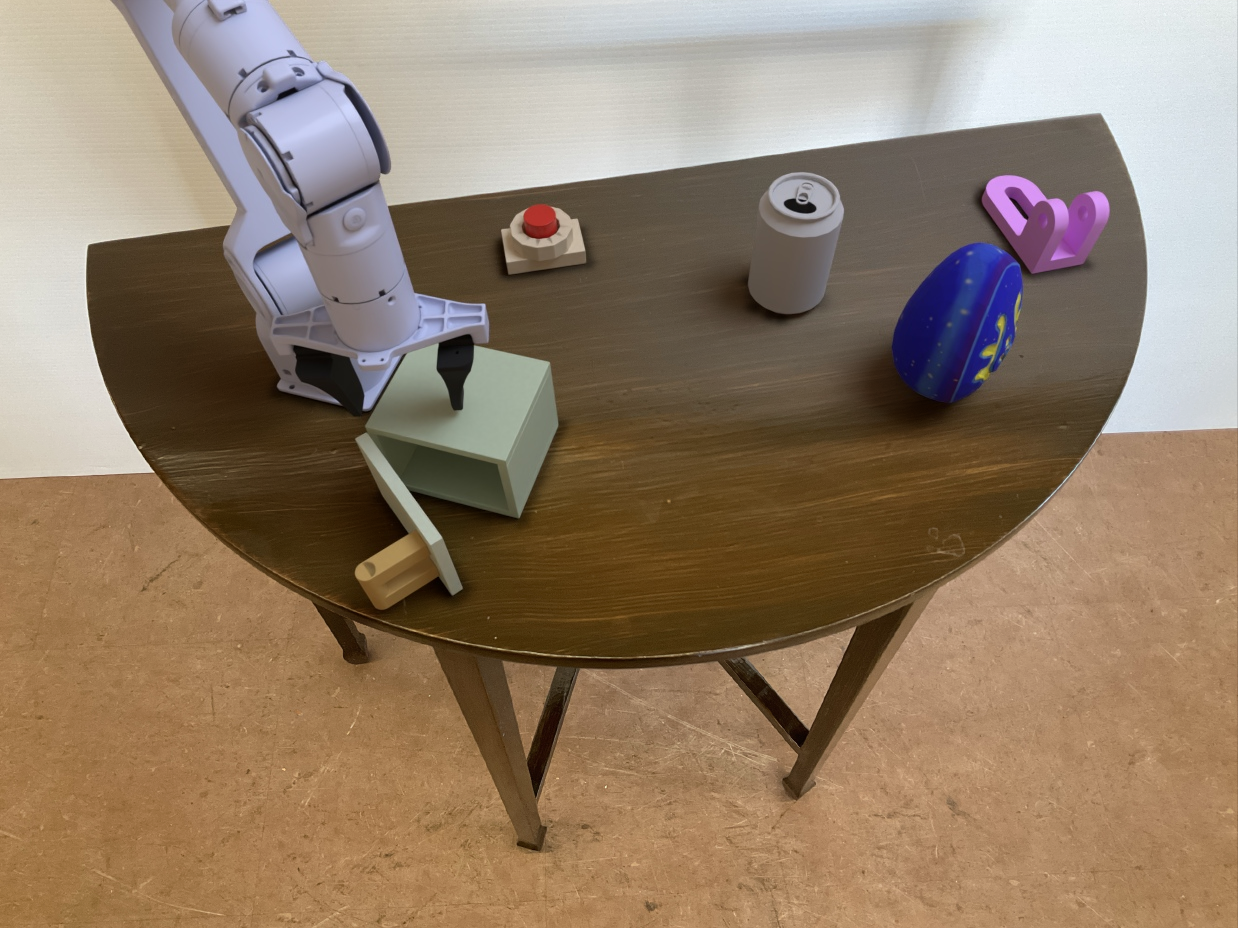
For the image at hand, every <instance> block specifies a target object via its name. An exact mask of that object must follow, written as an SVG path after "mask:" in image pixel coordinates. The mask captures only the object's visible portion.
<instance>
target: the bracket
mask: <svg viewBox="0 0 1238 928" xmlns="http://www.w3.org/2000/svg"><path fill="white" fill-rule="evenodd" d="M1011 199H1013V200H1014V201H1016V202H1017V204H1018V205H1019V206H1020V207H1021V209H1022V210H1023V212H1024V213H1025V215H1027V217H1028V218H1027V219H1026V218H1024V216H1023V215H1022V213H1020V211H1019V210H1018V209H1017V207H1016V206H1015V204H1014V203H1013V202H1012V200H1011ZM981 203H982V206H983V207H984V209H985V210H986V212H987V213H988V214H989V216H990V217H991V218H992V220H993V221H994V223H995V225H997V227H998V229H999V230H1000V231H1001V232H1002V234H1003V235H1004V237H1005V239H1006V240H1007V241H1008V242H1009V244H1010V245H1011V247H1012V248H1013V249H1014V251H1015V252H1016V254H1017V255H1018V257H1019V258H1020V259H1021V261H1022V262H1023V263H1024V265H1025V267H1026V268H1027V270H1028V271H1029V272H1030V274H1039V273H1043V272H1048V271H1053V270H1059V269H1064V268H1069V267H1074V266H1075V267H1076V266H1080V265H1084V263H1085V262H1086V260H1087V258H1088V256H1089V255H1090V253H1091V252H1092V249H1093V248H1094V246H1095V244H1096V243H1097V241H1098V239H1099V238H1100V236H1101V234H1102V232H1103V230H1104V229H1105V227H1106V225H1107V223H1108V221H1109V218H1110V212H1111V211H1110V203H1109V200H1108V198H1107V196H1106V195H1105V194H1104V193H1103V192H1102V191H1099V190H1095V191H1088V192H1083V193H1079V194H1077V195H1076V196H1075V197H1074V198H1073V200H1072V202H1071V203H1070V205H1069V208H1067V207H1068V206H1067V205H1066V203H1065V202H1064V201H1063V200H1062V199H1061V198H1058V197H1057V198H1056V197H1055V198H1050V199H1048V198H1047V197H1046V196H1045V195H1044V194H1043V192H1042V191H1041V189H1040V188H1039V187H1038V186H1037V184H1035V183H1034V182H1032V181H1031V180H1029V179H1027V178H1025V177H1021V176H1017V175H1011V174H1007V175H1006V174H1005V175H999V176H995V177H993V178H992V179H990V180H989V181H988V182H987V184H986V186H985V189H984V192H983V194H982V197H981Z"/></svg>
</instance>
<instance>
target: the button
mask: <svg viewBox="0 0 1238 928" xmlns="http://www.w3.org/2000/svg"><path fill="white" fill-rule="evenodd" d="M552 207H553V206H551V205H547V204H533V205H531V206H530V207H527V208H528V209H527V208H526V209H527V210H526V211H525V212H524V215H523V218H524V225H525V231H526V233H527V235H528V236H530V237H531V238H535V239H544V238H549V237H551V236H553V235H554V234H555V233H556V231H557V221H556V213H555V210H554V209H553V208H552Z"/></svg>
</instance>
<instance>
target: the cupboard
mask: <svg viewBox="0 0 1238 928" xmlns="http://www.w3.org/2000/svg"><path fill="white" fill-rule="evenodd" d="M438 345H439V343H437V344H434V345H431V346H428V347H425V348H421V349H418V350H415V351H412V352H409V353H406V354H405V356H404V357H403V359H402V361H401V363H400V364H399V366H398V368H397V369H396V371H395V373H394V375H393V377H392V378H391V380H390V382H389V384H388V386H387V387H386V389H385V390H384V392H383V394H382V395H381V397H380V399H379V401H378V403H377V404H376V406H375V408H374V409H373V412H372V413H371V414H370V417H369V418H368V420H367V422H366V423H365V425H364V428H365V430H366V433H367V434H368V435H369V436H370V438H371V439H372V441H373V442H374V443H375V445H376V446H377V448H378V449H379V450H380V452H381V453H382V454H383V456H384V457H385V459H386V460H387V461H388V463H389V464H390V466H391V467H392V468H393V470H394V471H395V473H396V474H397V475H398V477H399V478H400V479H401V481H402V482H403V484H404V485H405V486H406V488H407V489H408V491H409V492H414V493H419V494H421V495H425V496H430V497H433V498H437V499H441V500H445V501H449V502H453V503H457V504H461V505H465V506H468V507H473V508H476V509H481V510H483V511H484V510H485V511H489V512H491V513H496V514H500V515H503V516H507V517H511V518H514V519H515V518H516V519H520V518H521V515H522V513H523V511H524V508H525V506H526V503H527V502H528V499H529V496H530V494H531V491H532V489H533V487H534V485H535V483H536V480H537V477H538V476H539V473H540V471H541V469H542V468H541V467H542V466H543V463H544V461H545V459H546V457H547V454H548V451H549V449H550V446H551V445H552V441H553V440H554V437H555V435H556V432H557V430H558V428H559V417H558V410H557V405H556V404H557V403H556V396H555V388H554V381H553V375H552V367H551V366H552V365H551V362H550V361H547V360H542V359H538V358H535V357H534V358H533V357H529V356H525V355H520V354H515V353H511V352H506V351H501V350H497V349H492V348H488V347H483V346H479V345H475V344H474V360H473V365H472V368H471V371H470V373H469V374H468V376H467V378H466V380H465V383H464V386H463V387H464V400H463V409H462V410H455V411H454V410H453V408H452V406H451V402H450V398H449V393H448V389H447V387H446V384H445V382H444V380H443V379H442V377H441V375H440V374H439V373H438V372H437V369H436V365H437V353H438Z"/></svg>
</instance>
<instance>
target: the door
mask: <svg viewBox="0 0 1238 928" xmlns="http://www.w3.org/2000/svg"><path fill="white" fill-rule="evenodd" d="M354 440H355V442H356V444H357V447H358V448H359V450H360V452H361V455H362V457H363V458H364V460H365V463H366V465H367V466H368V470H369V471H370V473H371V475H372V477H373V479H374V482H375V484H376V485H377V488H378V490H379V492H380V494H381V496H382V497H383V499H384V501H386V503H387V505H388V506H389V508H390V509H391V510H392V512H393V514H394V515H395V516H396V517H397V519H398V520H399V522H400V523H401V525H402V526H403V527H404V529H405V530H406V531H407V533H408V534H406V535H404V536H403V537H401V538H400V539H398V540H397V541H395V542H393V543H392V544H390V545H388V546H386V547H385V548H384V549H382V550H380V551H379V552H377V553H375V554H374V555H372V556H370V557H369V558H367V559H365V560H364V561H361V563H359V564H358V565H357V566H356V567H355V569H354V577H355V579H356V580H357V581H358V583H359V585H360V586H361V588H362V590H363V591H364V593H365V594H366V596H367V597H368V599H369V600H370V602H371V604H372V606H373V607H374V608H375V609H376V610H380V611H382V610H383V611H384V610H387V609H389V608H391V607H392V606H393V605H395V604H397V603H398V602H400V601H402V600H403V599H405V598H406V597H408V596H410V595H411V594H413V593H415V592H416V591H418V590H419V589H421V588H423V587H424V586H426V585H427V584H428V583H430V582H432V581H433V580H435V579H436V578H438V577H439V579H440V580H441V582H442V583H443V585H444V586H445V588H446V589H447V590H448V592H449V594H450V595H451V596H454V595H456V594H457V593H459V592H460V591H461V590H463V589H464V588H463V585H462V583H461V581H460V580H461V579H460V577H459V575H458V572H457V570H456V568H455V566H454V563H453V560H452V558H451V555H450V553H449V551H448V548H447V546H446V543H445V541H444V538H443V536H442V535H441V533H440V532H439V530H438V529H437V528H436V527H435V525H434V524H433V522H432V521H431V520H430V518H429V517H428V516H427V514H426V513H425V511H424V510H423V509H422V507H421V506H420V504H419V503H418V501H416V499H415V498H414V496H413V495H412V493H411V491H410V490H408V489H407V488H406V486H405V485H404V484H403V482H402V481H401V479H400V478H399V477H398V475H397V474H396V473H395V471H394V470H393V468H392V467H391V466H390V464H389V463H388V461H387V460H386V459H385V457H384V456H383V454H382V453H381V452H380V450H379V449H378V448H377V446H376V445H375V443H374V442H373V441H372V439H371V438H370V436H369V435H368V432H365V433H363V434H360V435H359V436H357V437H355V439H354Z"/></svg>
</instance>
